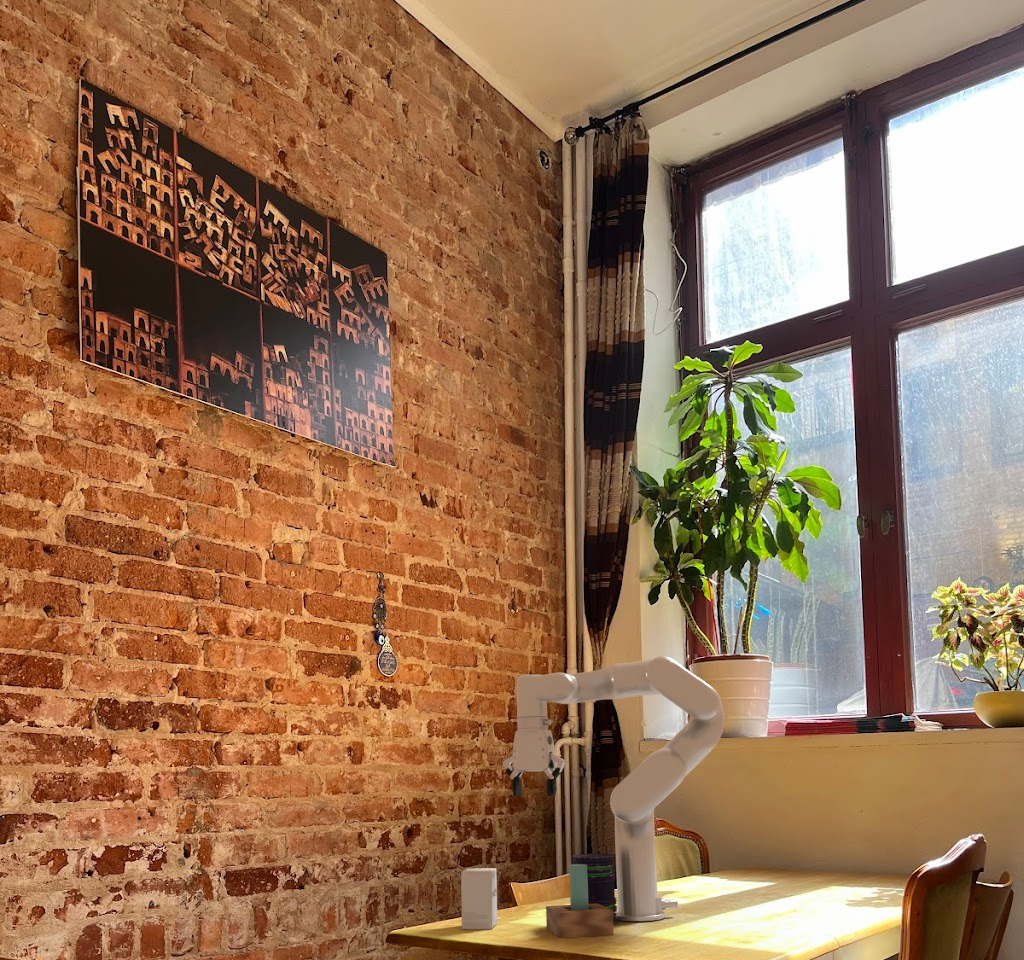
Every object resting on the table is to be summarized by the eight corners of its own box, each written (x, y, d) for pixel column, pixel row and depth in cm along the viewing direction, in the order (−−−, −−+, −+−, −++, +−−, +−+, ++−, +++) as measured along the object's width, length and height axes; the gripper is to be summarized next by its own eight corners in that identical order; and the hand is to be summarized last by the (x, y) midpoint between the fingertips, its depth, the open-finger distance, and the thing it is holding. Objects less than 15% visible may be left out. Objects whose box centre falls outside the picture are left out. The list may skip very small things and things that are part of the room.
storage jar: (574, 926, 257) (572, 858, 260) (574, 920, 266) (571, 854, 270) (618, 926, 256) (615, 857, 260) (616, 919, 266) (613, 853, 269)
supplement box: (492, 929, 256) (491, 871, 259) (460, 929, 257) (460, 871, 260) (498, 924, 263) (497, 867, 266) (467, 924, 264) (466, 867, 267)
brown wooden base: (598, 926, 256) (597, 903, 257) (613, 934, 245) (612, 910, 246) (546, 929, 253) (546, 906, 255) (560, 938, 242) (559, 913, 243)
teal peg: (586, 929, 252) (584, 864, 255) (591, 932, 248) (589, 865, 252) (569, 930, 251) (567, 864, 254) (574, 933, 247) (572, 866, 251)
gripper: (570, 723, 280) (572, 795, 277) (510, 725, 289) (512, 795, 285) (555, 723, 274) (557, 796, 270) (495, 725, 283) (496, 796, 279)
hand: (534, 795), depth 278 cm, fingers open, 9 cm apart
